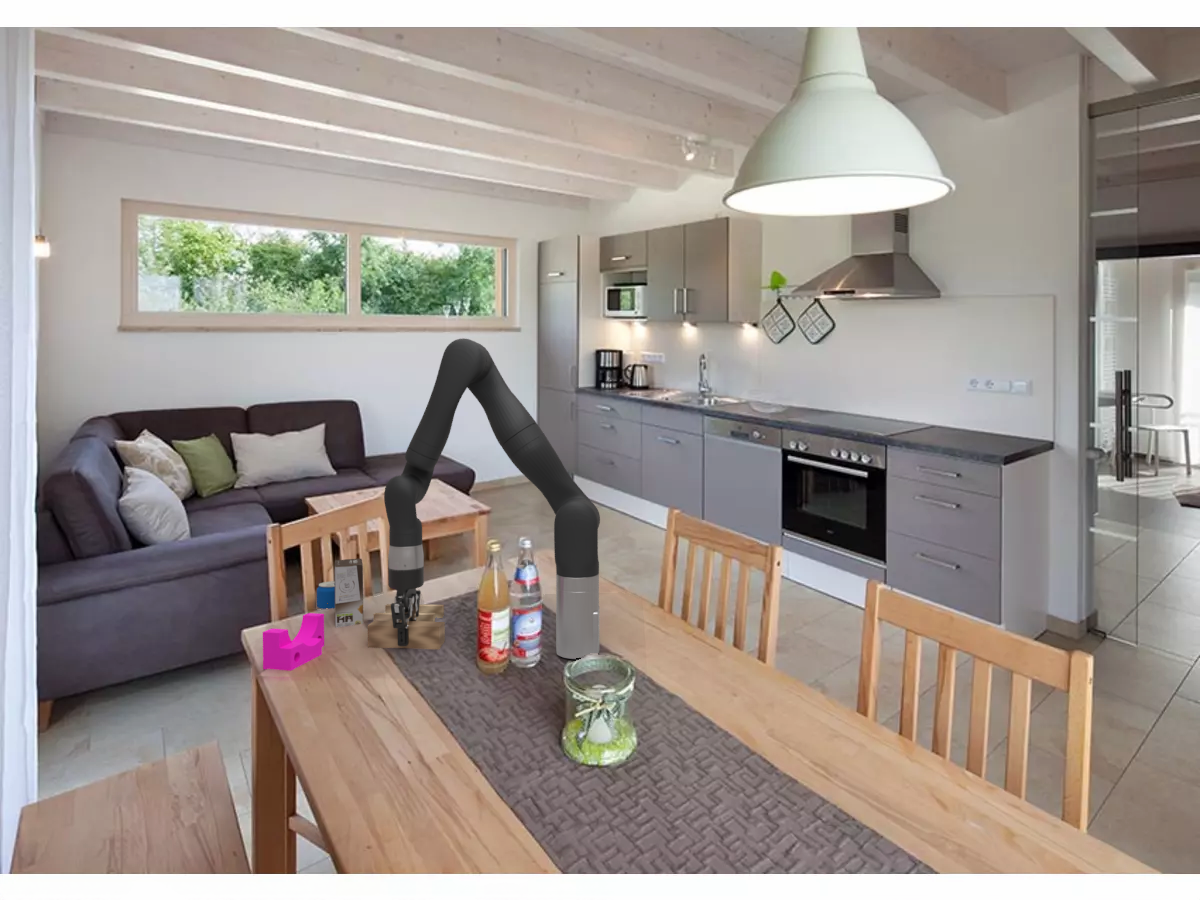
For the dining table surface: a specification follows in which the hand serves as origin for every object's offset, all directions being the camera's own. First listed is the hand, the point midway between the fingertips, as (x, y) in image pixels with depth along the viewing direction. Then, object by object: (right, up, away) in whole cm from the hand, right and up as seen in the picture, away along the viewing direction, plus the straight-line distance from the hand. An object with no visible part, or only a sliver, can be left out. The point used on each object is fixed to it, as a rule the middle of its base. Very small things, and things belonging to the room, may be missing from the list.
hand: (406, 641), depth 155 cm
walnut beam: (0, -1, 0) cm, 1 cm away
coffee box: (-17, -1, +14) cm, 22 cm away
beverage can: (-25, -4, +22) cm, 34 cm away
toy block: (-20, -1, -8) cm, 22 cm away
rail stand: (-3, -1, +12) cm, 12 cm away
